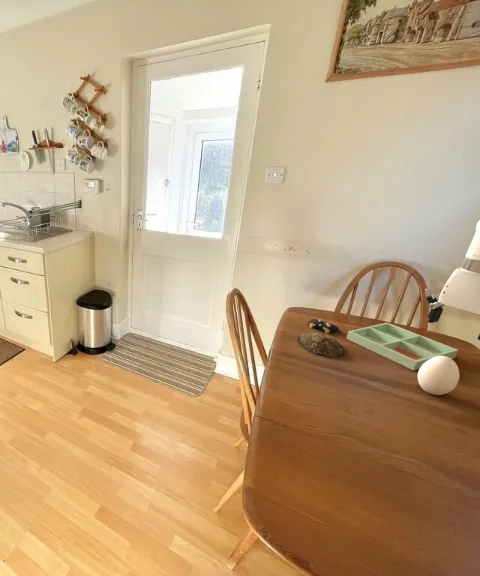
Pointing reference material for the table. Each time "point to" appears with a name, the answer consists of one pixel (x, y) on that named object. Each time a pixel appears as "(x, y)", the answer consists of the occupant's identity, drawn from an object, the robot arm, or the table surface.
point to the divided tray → (400, 344)
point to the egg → (438, 375)
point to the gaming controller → (323, 326)
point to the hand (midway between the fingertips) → (456, 330)
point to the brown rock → (321, 344)
